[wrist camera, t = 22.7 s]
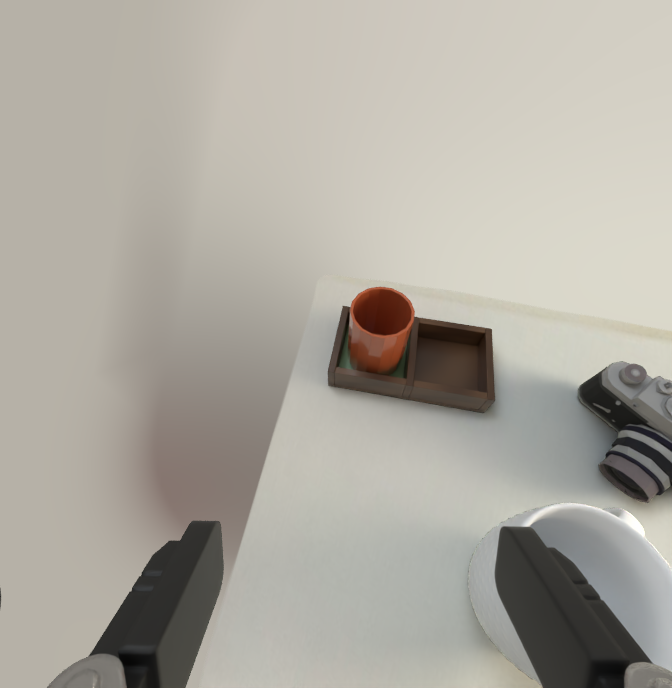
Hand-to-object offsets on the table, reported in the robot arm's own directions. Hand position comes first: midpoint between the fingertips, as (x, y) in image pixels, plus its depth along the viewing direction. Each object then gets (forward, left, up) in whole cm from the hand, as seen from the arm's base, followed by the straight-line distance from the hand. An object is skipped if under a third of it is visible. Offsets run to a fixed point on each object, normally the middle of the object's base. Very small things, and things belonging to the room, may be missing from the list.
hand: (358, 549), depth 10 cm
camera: (+28, +16, -28) cm, 43 cm away
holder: (+4, +23, -28) cm, 36 cm away
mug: (+16, +2, -28) cm, 32 cm away
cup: (0, +23, -27) cm, 35 cm away
